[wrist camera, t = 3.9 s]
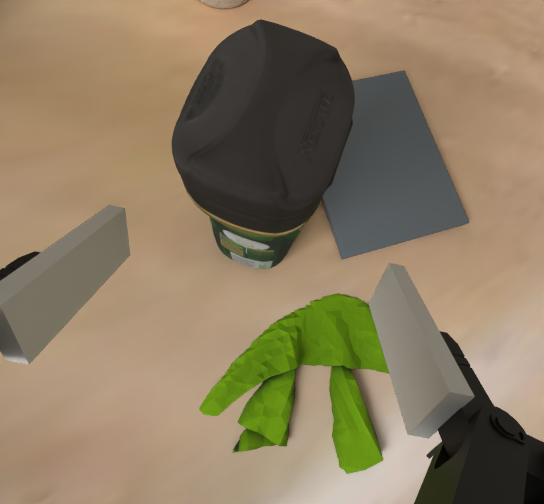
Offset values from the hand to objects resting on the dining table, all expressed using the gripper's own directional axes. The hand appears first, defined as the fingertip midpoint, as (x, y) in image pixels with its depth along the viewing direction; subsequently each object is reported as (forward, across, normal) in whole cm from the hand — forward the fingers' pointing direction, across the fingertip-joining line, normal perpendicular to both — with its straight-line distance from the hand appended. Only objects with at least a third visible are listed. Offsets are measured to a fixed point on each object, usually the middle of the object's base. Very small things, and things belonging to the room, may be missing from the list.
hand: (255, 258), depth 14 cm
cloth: (+4, +8, -18) cm, 20 cm away
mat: (+22, +11, +2) cm, 25 cm away
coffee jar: (+15, -1, -6) cm, 16 cm away
